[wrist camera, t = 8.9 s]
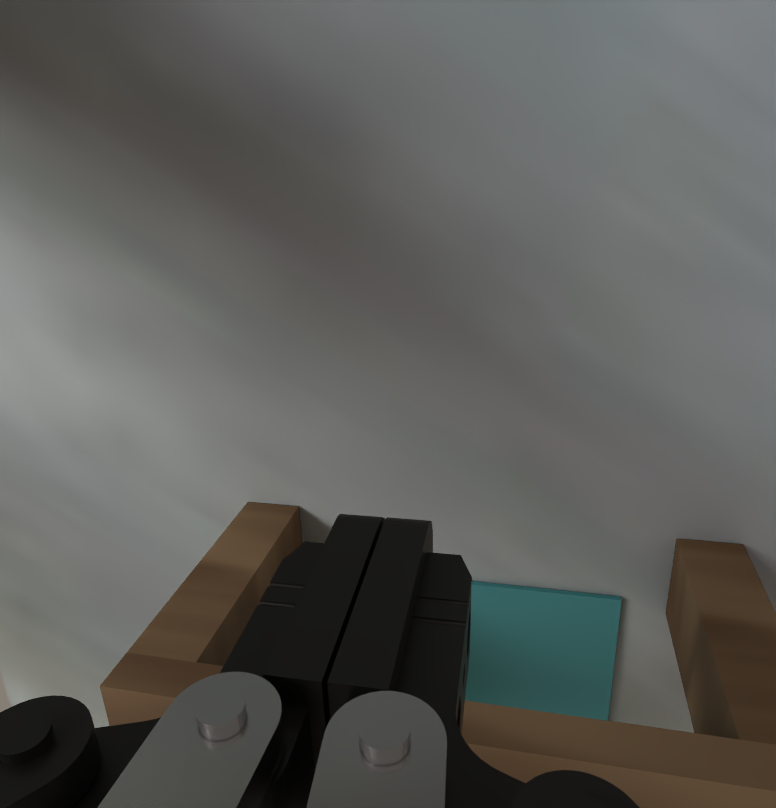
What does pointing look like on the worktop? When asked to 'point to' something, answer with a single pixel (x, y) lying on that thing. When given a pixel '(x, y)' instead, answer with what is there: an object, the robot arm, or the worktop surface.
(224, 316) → the worktop surface
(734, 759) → the bridge
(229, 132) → the worktop surface
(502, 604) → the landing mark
